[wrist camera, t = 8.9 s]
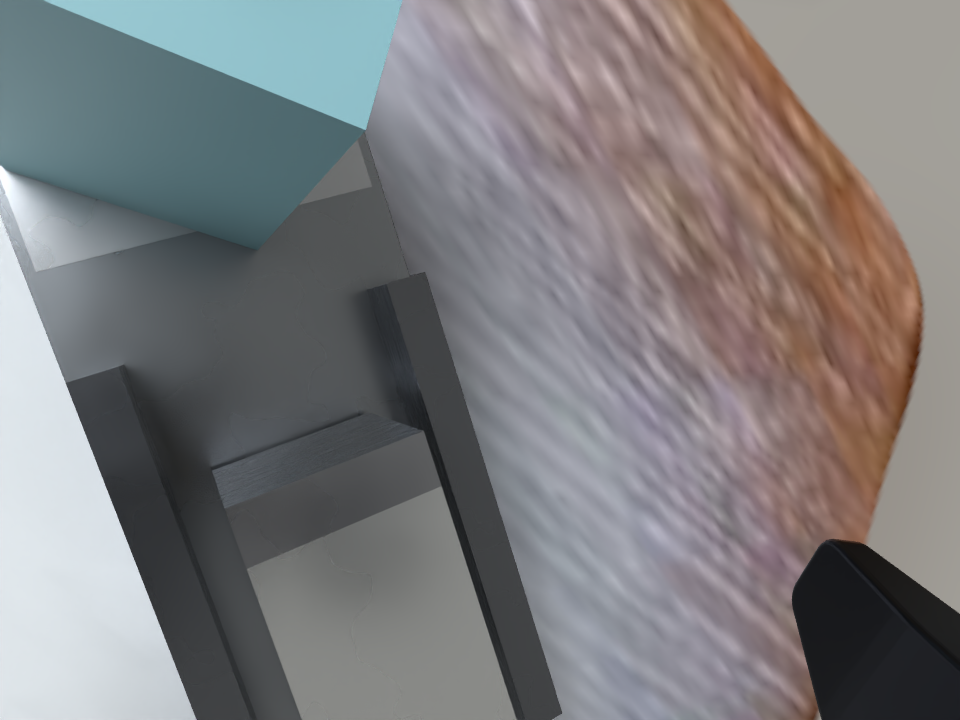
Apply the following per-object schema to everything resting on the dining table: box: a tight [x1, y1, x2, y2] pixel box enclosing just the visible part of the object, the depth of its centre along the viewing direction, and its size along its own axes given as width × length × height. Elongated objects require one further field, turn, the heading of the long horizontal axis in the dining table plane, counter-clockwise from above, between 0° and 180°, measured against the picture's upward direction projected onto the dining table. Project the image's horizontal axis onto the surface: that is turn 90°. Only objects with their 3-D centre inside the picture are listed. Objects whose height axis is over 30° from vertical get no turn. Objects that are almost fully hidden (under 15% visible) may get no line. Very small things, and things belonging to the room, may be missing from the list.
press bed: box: [0, 132, 562, 720], centre depth 18 cm, size 22×8×3 cm, turn 18°
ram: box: [212, 413, 516, 720], centre depth 17 cm, size 8×4×4 cm, turn 18°
